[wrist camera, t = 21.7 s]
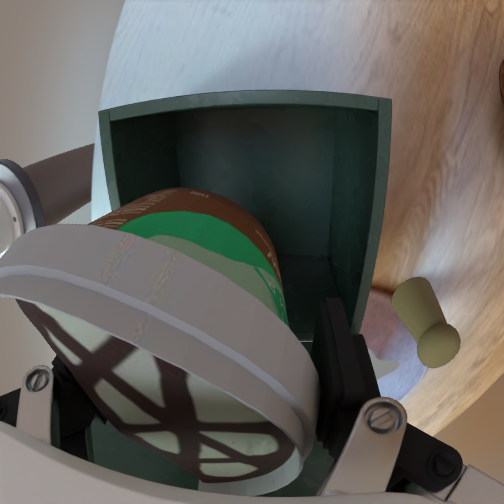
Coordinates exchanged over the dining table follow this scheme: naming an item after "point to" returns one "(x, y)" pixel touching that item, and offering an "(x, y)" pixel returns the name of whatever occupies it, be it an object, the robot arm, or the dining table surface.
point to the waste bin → (271, 178)
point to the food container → (177, 334)
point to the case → (502, 79)
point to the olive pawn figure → (426, 322)
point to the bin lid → (168, 473)
